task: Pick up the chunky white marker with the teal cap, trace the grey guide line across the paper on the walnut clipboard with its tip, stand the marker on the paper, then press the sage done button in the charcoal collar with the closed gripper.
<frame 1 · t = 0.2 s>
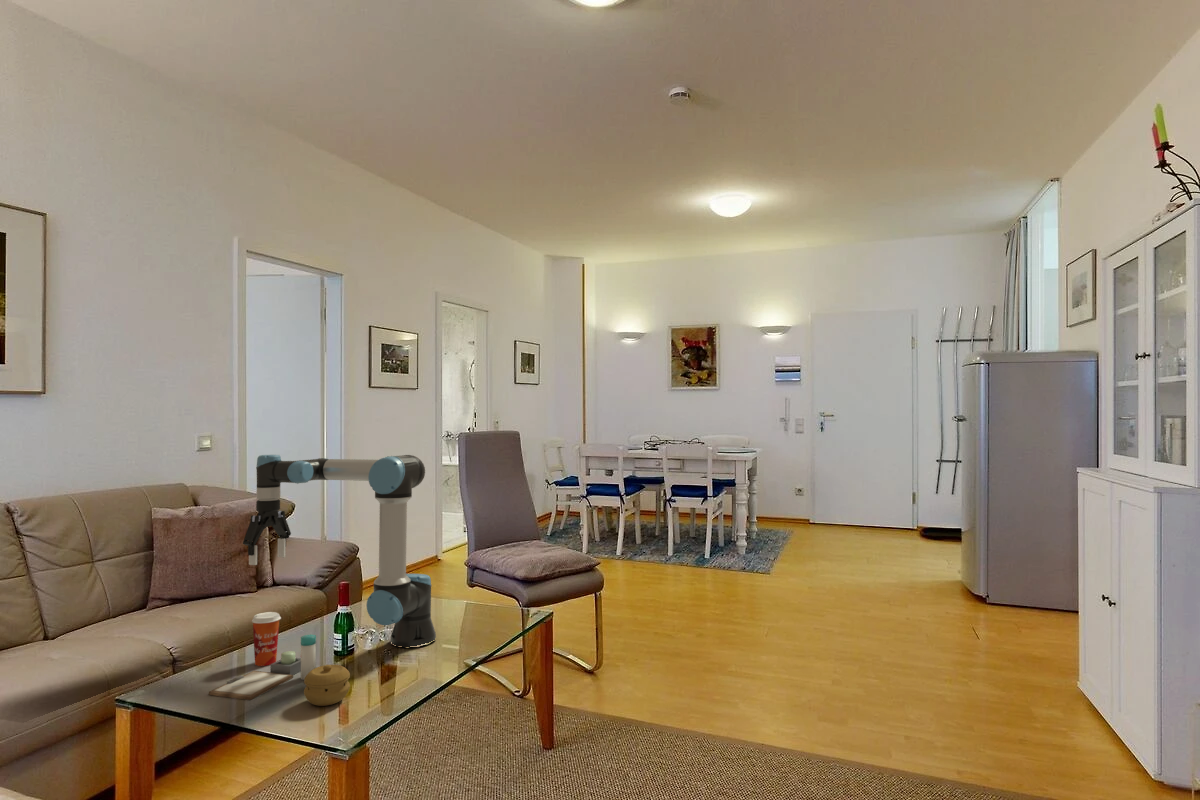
hand: (267, 560, 241), 28 cm above the table, fingers open, 13 cm apart
pot: (327, 702, 190), on the table
drawing board: (252, 686, 201), on the table
marker: (307, 677, 207), on the table
coffee cup: (265, 663, 220), on the table
button housing: (288, 671, 212), on the table
done button: (288, 659, 212), point 4 cm above the table, slide at 0.0 cm
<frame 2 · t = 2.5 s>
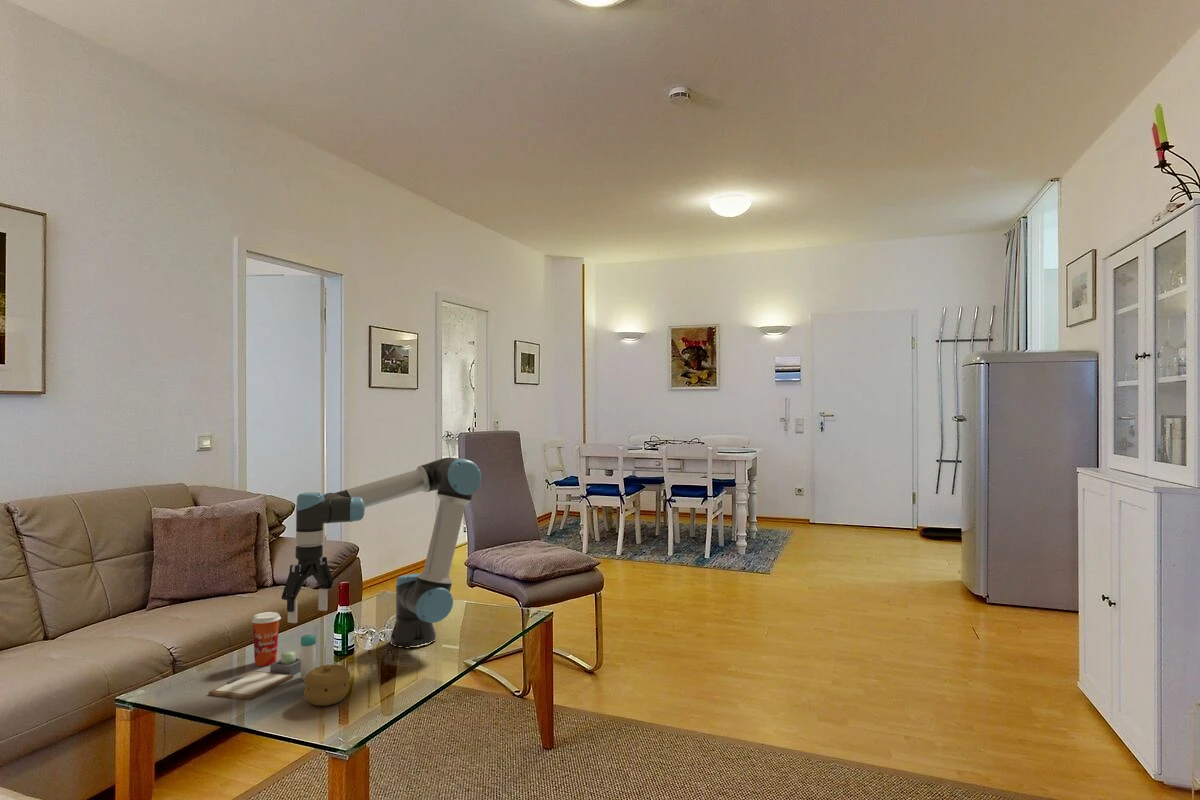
hand: (308, 616, 208), 18 cm above the table, fingers open, 13 cm apart
nothing on the table moved.
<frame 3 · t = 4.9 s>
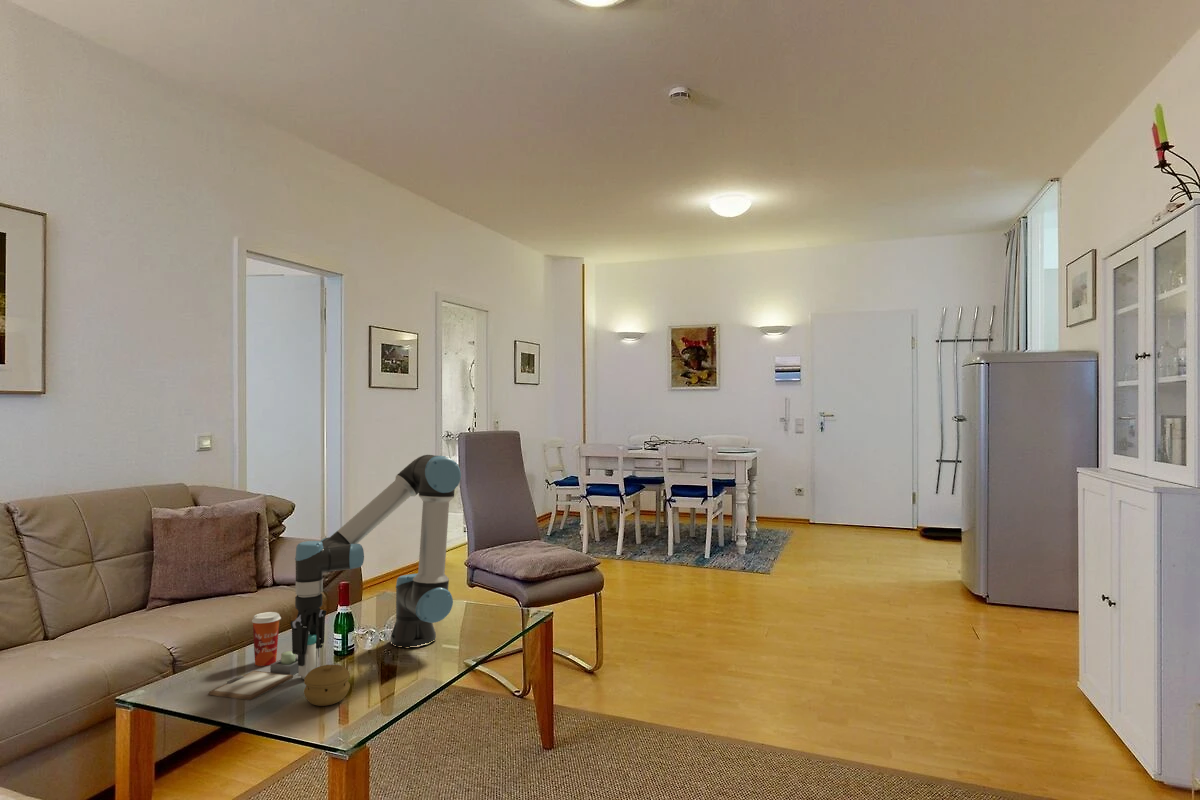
hand: (308, 672, 208), 1 cm above the table, fingers closed on marker, 4 cm apart
marker: (308, 676, 208), on the table, touching gripper
everything else where it was.
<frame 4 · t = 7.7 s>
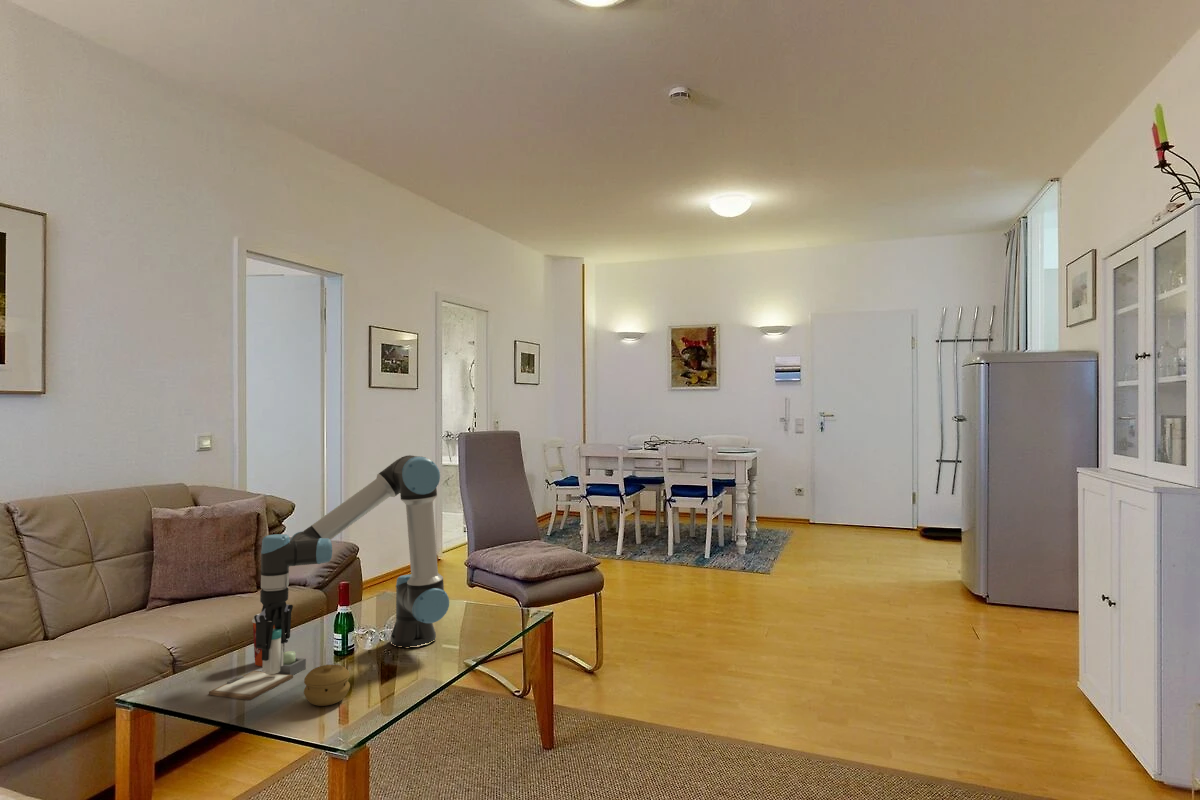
hand: (272, 667, 205), 4 cm above the table, fingers closed on marker, 4 cm apart
marker: (272, 671, 205), point 3 cm above the table, touching gripper
everything else where it was.
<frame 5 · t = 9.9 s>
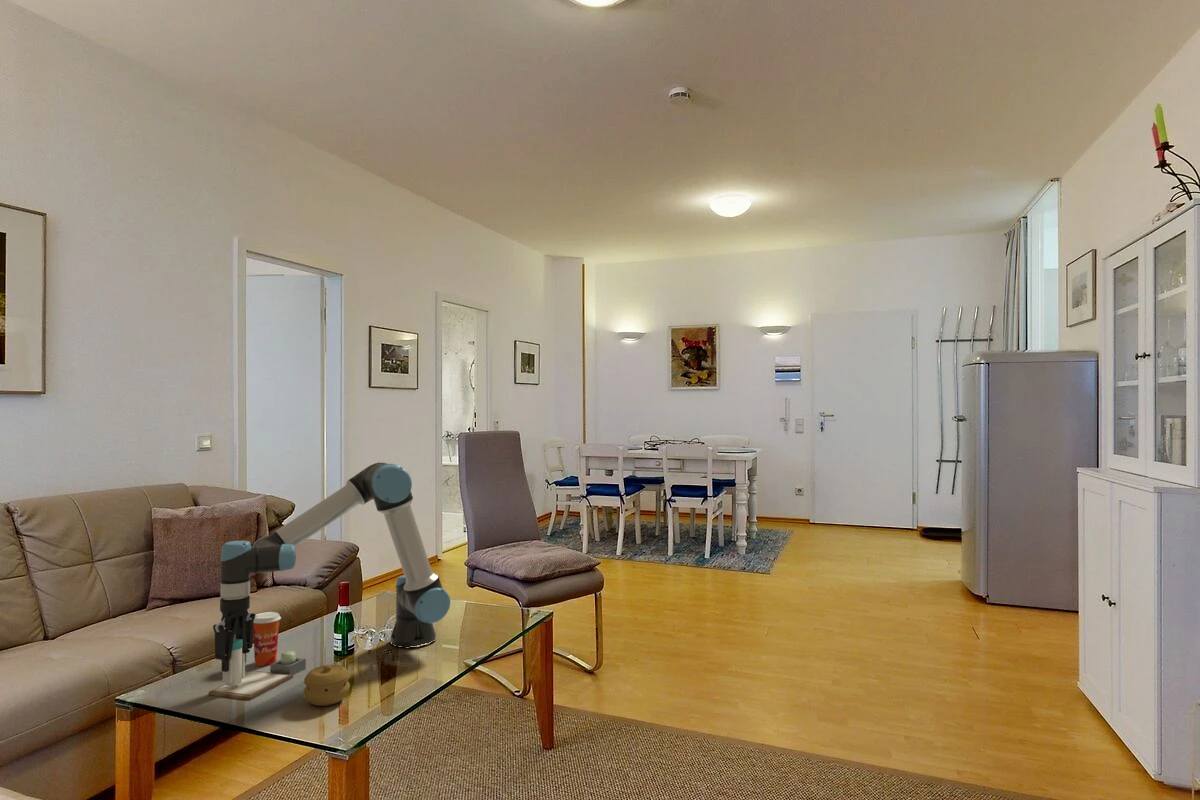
hand: (233, 679, 198), 3 cm above the table, fingers closed on marker, 4 cm apart
marker: (233, 683, 198), point 2 cm above the table, touching gripper
everything else where it was.
when the fingers open (3 cm above the table, at t = 10.9 s): marker stays where it is, resting on drawing board.
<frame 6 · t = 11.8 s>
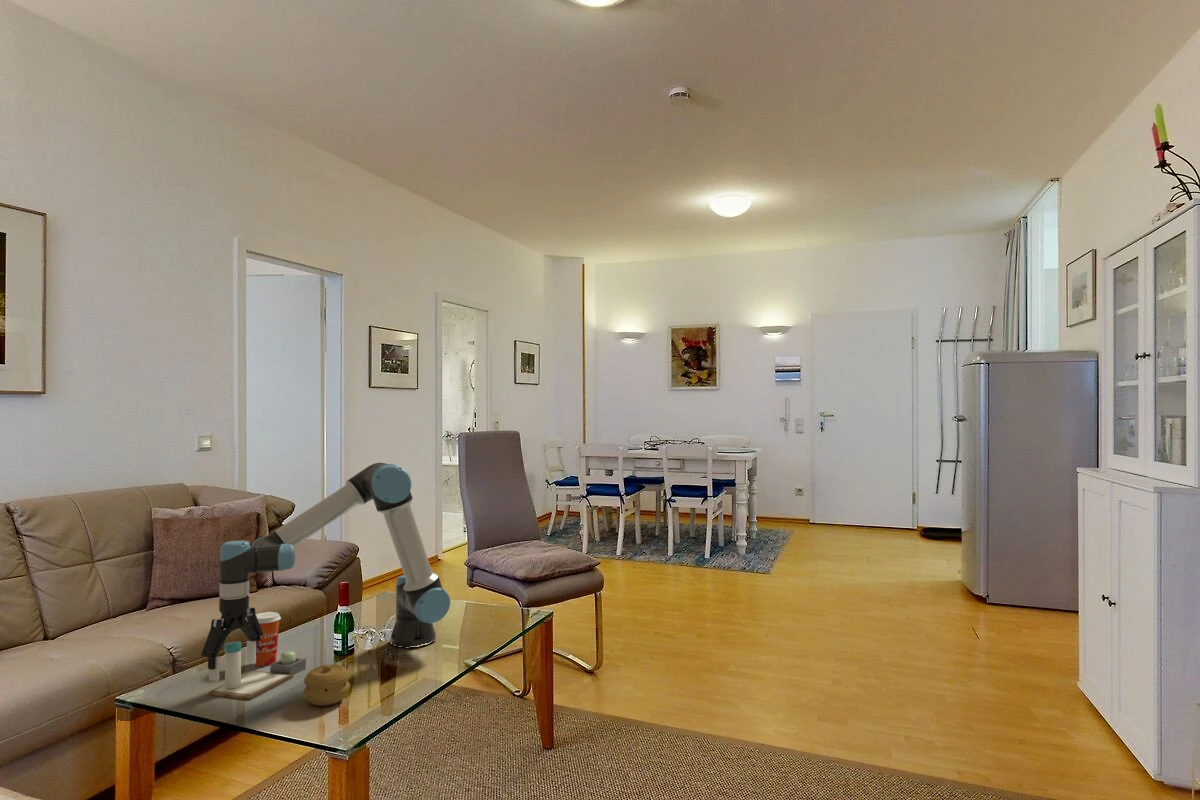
hand: (233, 671, 198), 5 cm above the table, fingers open, 13 cm apart
marker: (232, 686, 198), point 1 cm above the table, touching drawing board
everything else where it was.
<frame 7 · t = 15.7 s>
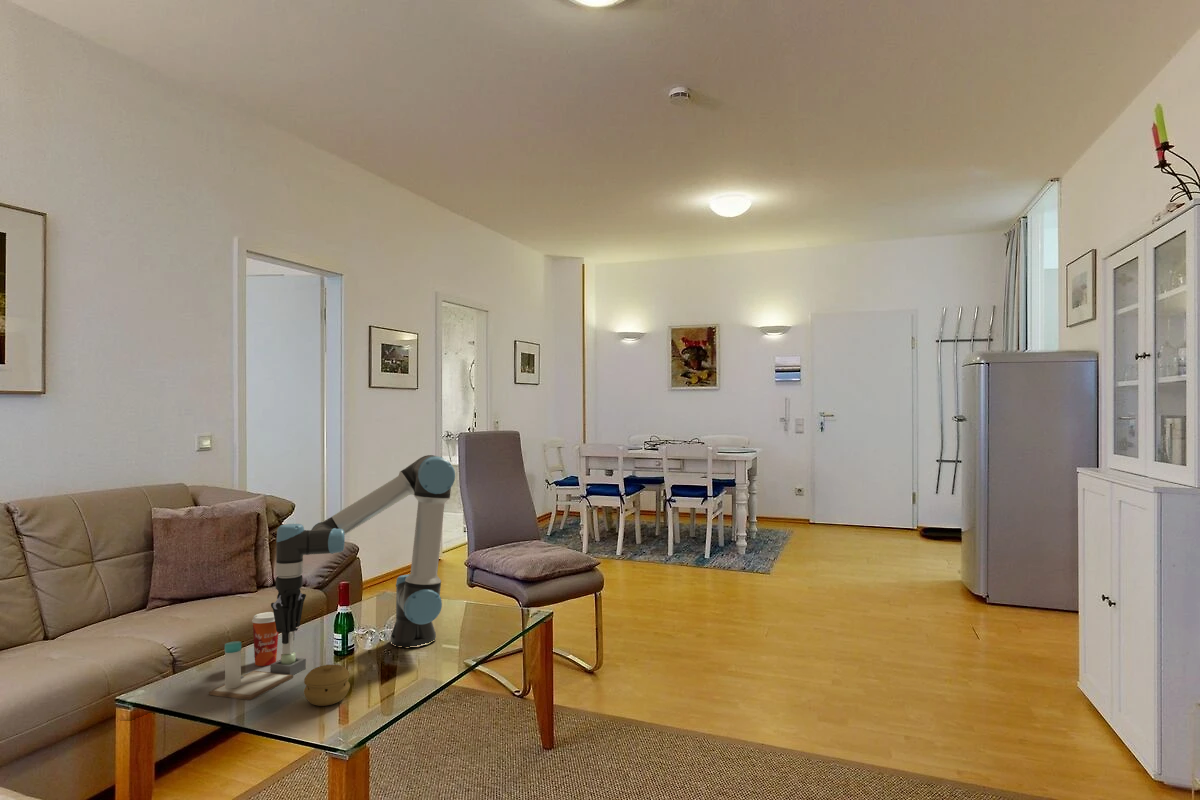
hand: (287, 653, 212), 6 cm above the table, fingers closed
done button: (288, 660, 212), point 3 cm above the table, slide at 0.2 cm, touching gripper
everything else where it was.
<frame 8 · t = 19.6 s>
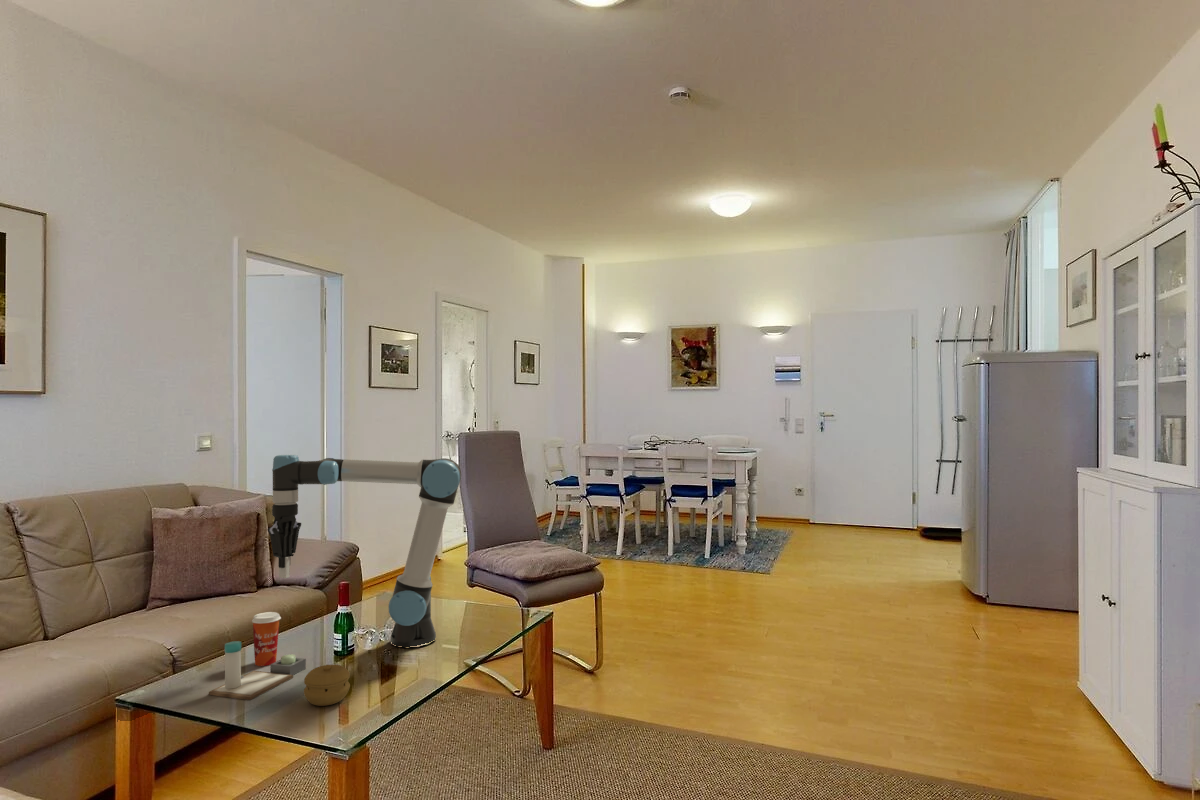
hand: (284, 577, 222), 26 cm above the table, fingers closed
done button: (288, 662, 212), point 3 cm above the table, slide at 1.0 cm
everything else where it was.
at the end: marker inside the target area (5.0 cm from its centre), point 1.1 cm above the table; done button slide at 1.0 cm; the gripper is holding nothing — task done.
